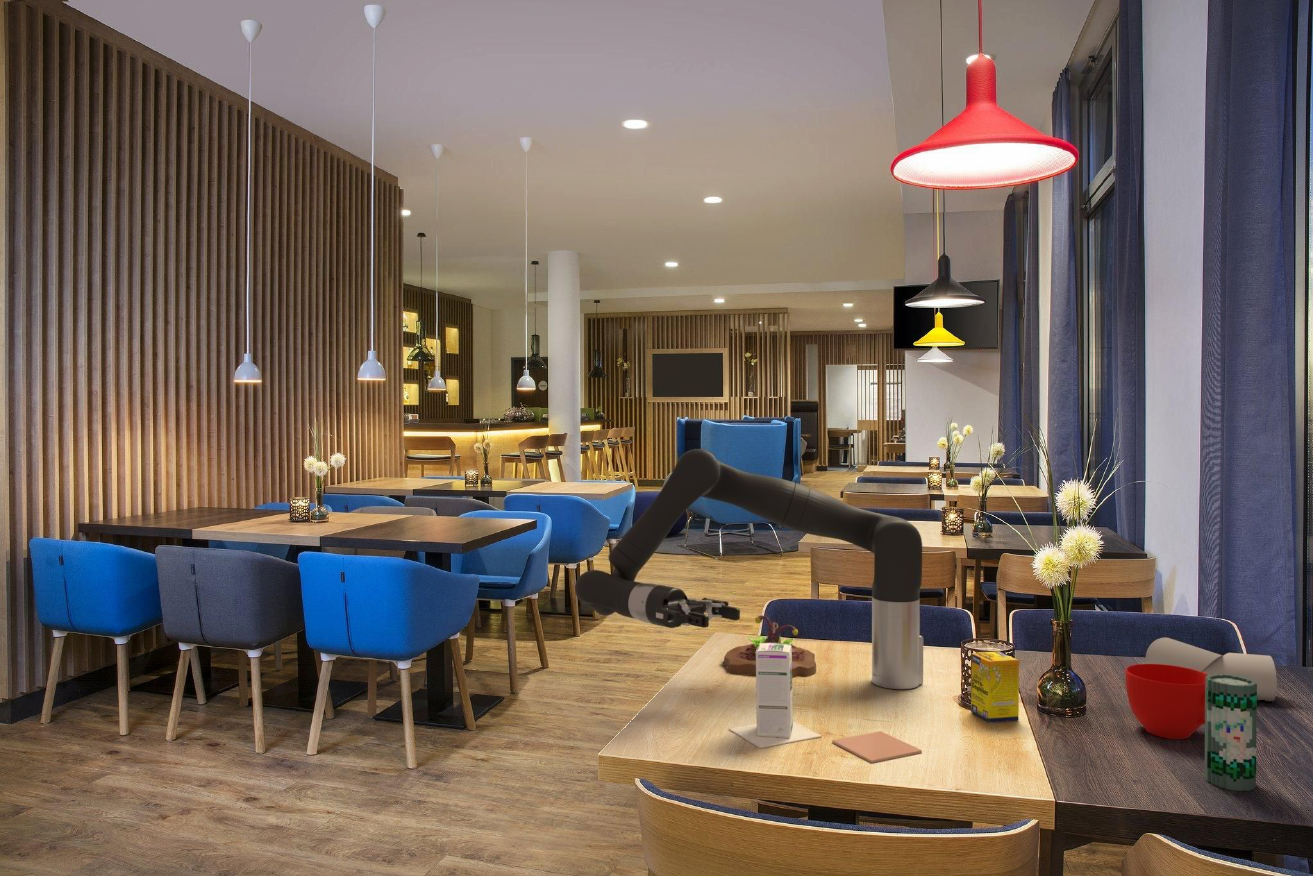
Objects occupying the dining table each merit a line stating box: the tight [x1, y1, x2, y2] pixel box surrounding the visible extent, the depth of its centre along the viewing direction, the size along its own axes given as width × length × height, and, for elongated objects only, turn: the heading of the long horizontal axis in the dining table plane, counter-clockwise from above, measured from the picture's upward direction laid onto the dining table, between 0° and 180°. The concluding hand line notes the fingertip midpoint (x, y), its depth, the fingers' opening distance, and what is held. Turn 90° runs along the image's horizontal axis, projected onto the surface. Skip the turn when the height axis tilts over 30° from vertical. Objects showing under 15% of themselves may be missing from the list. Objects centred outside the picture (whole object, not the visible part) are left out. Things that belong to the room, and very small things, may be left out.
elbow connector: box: [1145, 637, 1278, 702], centre depth 179 cm, size 18×11×20 cm
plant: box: [723, 614, 817, 679], centre depth 198 cm, size 20×20×11 cm
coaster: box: [831, 730, 923, 764], centre depth 148 cm, size 10×10×1 cm
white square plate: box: [728, 720, 822, 749], centre depth 155 cm, size 12×10×1 cm
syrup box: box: [755, 642, 794, 738], centre depth 155 cm, size 6×6×14 cm
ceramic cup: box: [1124, 663, 1208, 740], centre depth 153 cm, size 13×17×10 cm
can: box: [1204, 674, 1258, 792], centre depth 133 cm, size 6×6×15 cm
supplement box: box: [970, 650, 1020, 724], centre depth 163 cm, size 6×6×11 cm
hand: (723, 618), depth 162 cm, fingers open, 8 cm apart
